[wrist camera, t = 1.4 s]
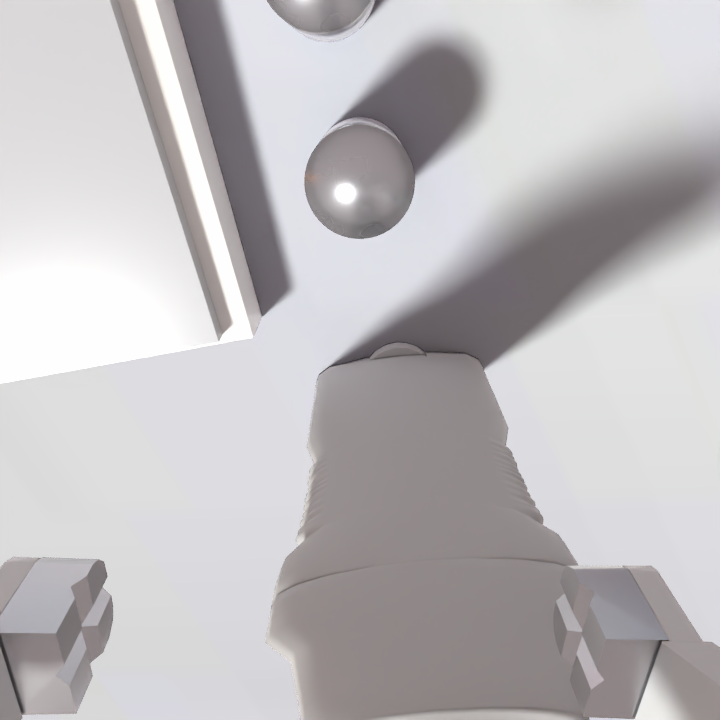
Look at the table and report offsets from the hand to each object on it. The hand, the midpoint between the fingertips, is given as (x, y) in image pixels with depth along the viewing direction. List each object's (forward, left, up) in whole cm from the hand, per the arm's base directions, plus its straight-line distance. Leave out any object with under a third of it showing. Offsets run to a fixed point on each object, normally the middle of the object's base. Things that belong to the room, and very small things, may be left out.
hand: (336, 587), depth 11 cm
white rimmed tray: (+15, -8, -24) cm, 29 cm away
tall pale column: (-1, +8, -24) cm, 25 cm away
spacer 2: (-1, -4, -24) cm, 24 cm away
